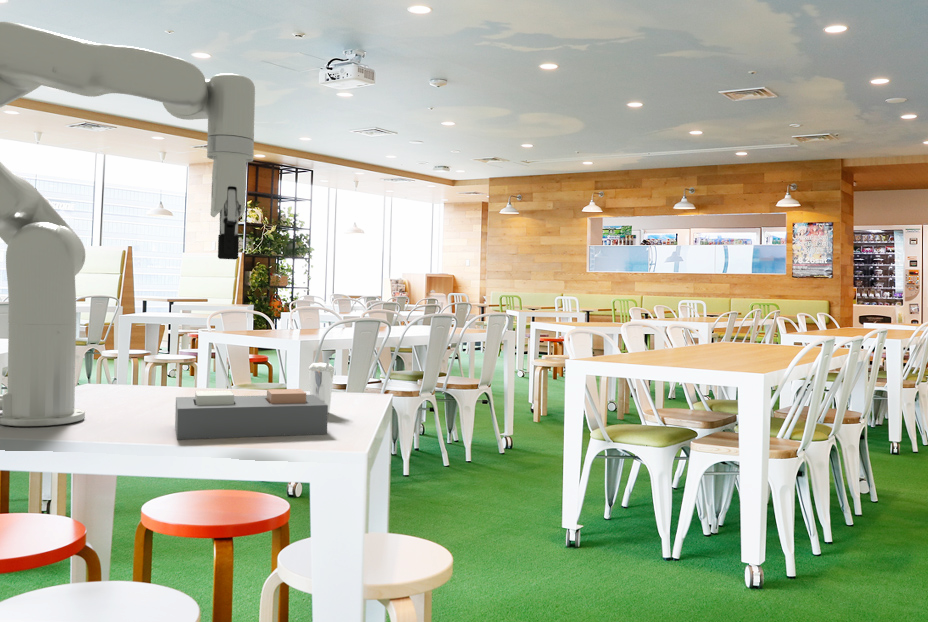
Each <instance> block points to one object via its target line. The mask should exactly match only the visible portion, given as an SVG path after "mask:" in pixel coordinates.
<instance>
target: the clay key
mask: <svg viewBox="0 0 928 622" xmlns="http://www.w3.org/2000/svg"><path fill="white" fill-rule="evenodd" d="M306 395H307V393H306V392H305V391H304V390H303V389H302V388H287V389H286V388H275V389H273V388H271V389H270V388H269V389H266V396H267V401H268V402H269V403H270V404H273V403H306Z"/></svg>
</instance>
